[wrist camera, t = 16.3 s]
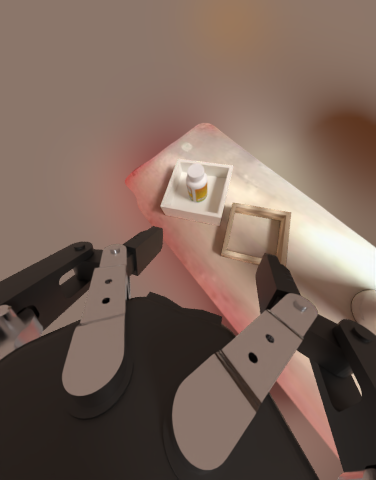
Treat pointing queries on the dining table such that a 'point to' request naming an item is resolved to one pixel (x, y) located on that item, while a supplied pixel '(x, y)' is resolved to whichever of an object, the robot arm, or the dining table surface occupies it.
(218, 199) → the bin
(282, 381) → the dining table surface
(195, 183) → the supplement bottle
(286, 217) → the frame
